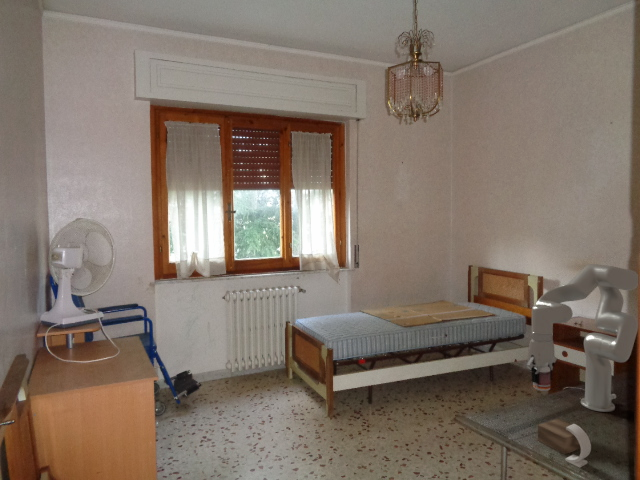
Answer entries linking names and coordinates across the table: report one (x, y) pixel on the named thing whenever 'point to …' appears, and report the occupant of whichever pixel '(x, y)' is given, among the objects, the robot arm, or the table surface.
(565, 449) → the walnut block
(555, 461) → the table surface
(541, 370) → the pill bottle
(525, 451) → the table surface
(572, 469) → the table surface
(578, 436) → the headphone stand
